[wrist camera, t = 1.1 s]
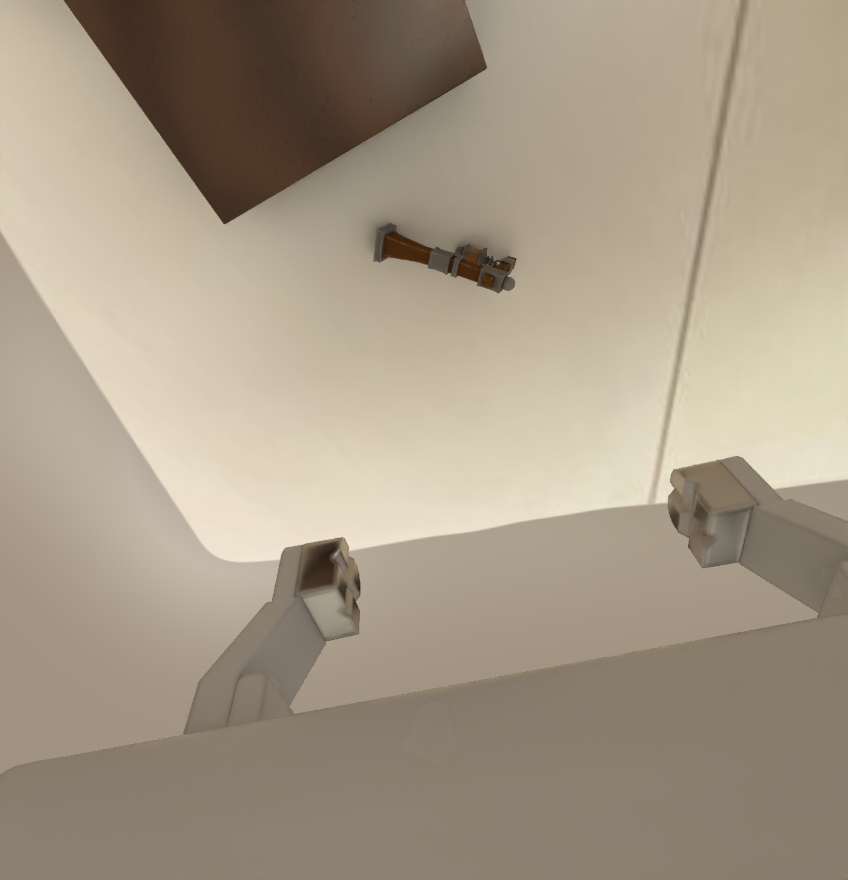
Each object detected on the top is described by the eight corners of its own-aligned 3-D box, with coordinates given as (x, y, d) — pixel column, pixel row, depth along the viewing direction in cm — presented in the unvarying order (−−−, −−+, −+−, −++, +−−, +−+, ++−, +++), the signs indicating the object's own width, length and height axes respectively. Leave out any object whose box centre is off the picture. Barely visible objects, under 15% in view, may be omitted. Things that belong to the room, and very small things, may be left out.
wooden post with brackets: (524, 282, 31) (506, 306, 27) (403, 244, 32) (371, 262, 29) (533, 252, 29) (515, 273, 26) (408, 214, 31) (375, 229, 28)
